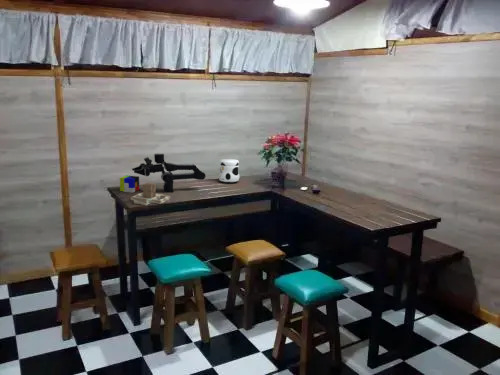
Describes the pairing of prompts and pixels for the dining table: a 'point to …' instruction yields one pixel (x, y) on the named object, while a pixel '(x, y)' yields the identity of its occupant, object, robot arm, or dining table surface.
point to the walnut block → (149, 190)
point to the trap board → (144, 201)
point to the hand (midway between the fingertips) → (133, 170)
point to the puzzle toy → (129, 183)
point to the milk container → (229, 170)
